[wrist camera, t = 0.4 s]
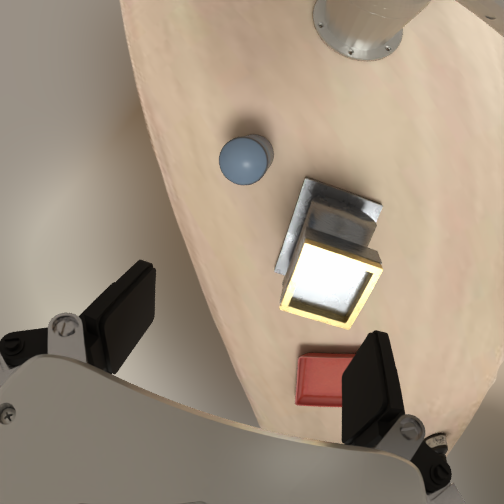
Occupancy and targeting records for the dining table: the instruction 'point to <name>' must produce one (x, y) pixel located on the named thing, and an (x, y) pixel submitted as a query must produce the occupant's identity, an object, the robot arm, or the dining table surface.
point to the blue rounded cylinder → (246, 159)
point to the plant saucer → (321, 379)
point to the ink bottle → (438, 444)
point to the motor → (329, 255)
